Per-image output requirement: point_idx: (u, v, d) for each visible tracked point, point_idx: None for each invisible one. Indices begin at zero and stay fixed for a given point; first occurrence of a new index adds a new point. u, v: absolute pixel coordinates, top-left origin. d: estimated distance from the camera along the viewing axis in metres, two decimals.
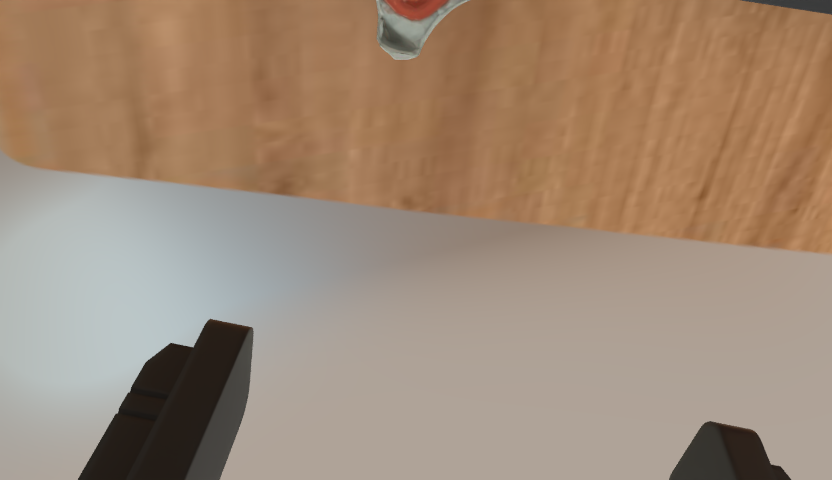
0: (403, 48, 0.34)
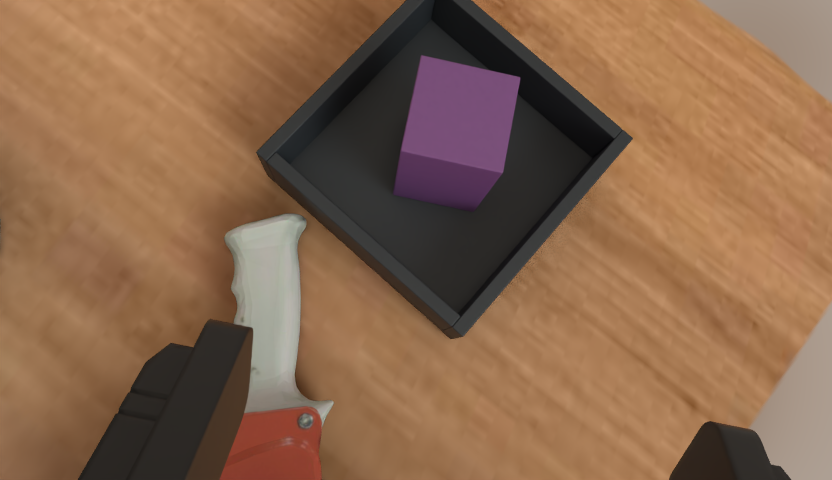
0: None
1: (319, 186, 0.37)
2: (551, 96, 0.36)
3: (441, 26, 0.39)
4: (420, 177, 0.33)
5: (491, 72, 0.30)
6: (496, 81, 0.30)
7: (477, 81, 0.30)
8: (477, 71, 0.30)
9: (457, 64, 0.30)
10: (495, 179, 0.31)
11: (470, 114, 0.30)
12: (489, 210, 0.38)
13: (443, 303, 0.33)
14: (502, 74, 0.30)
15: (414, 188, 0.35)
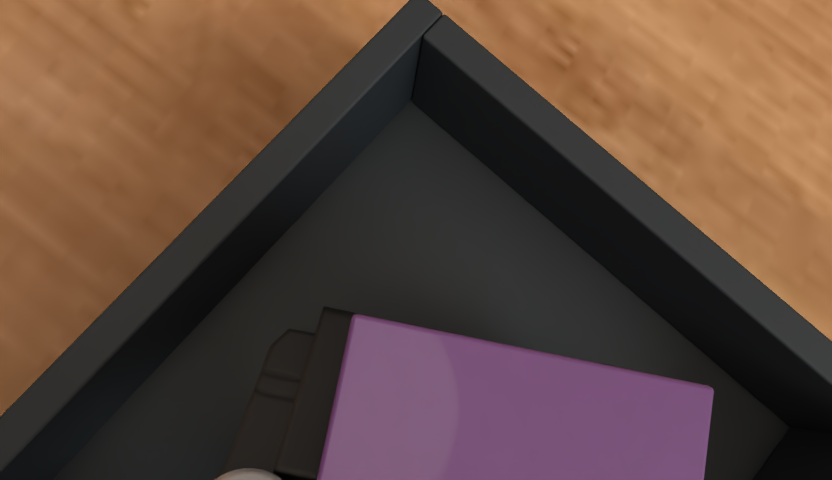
0: None
1: None
2: (714, 310, 0.14)
3: (434, 117, 0.17)
4: None
5: (611, 375, 0.08)
6: (630, 409, 0.08)
7: (561, 413, 0.08)
8: (560, 372, 0.08)
9: (486, 346, 0.08)
10: None
11: None
12: None
13: None
14: (650, 379, 0.08)
15: None
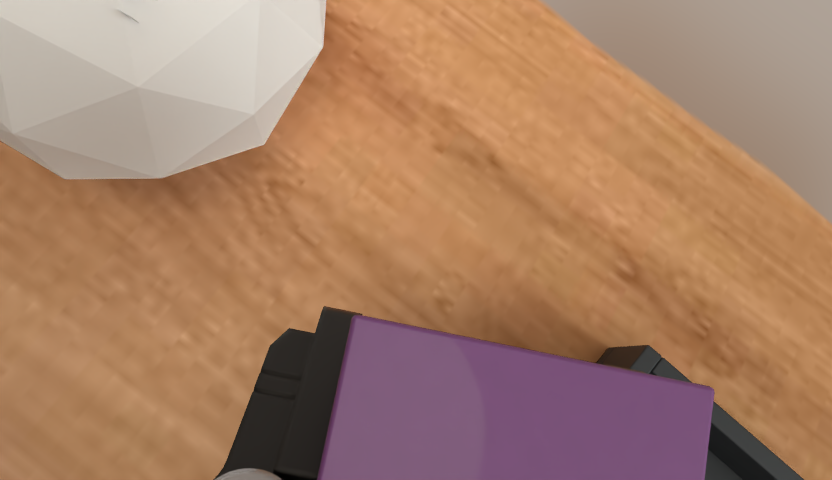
0: None
1: None
2: None
3: None
4: None
5: (611, 375, 0.08)
6: (630, 409, 0.08)
7: (562, 414, 0.08)
8: (560, 372, 0.08)
9: (487, 347, 0.08)
10: None
11: None
12: None
13: None
14: (650, 379, 0.08)
15: None
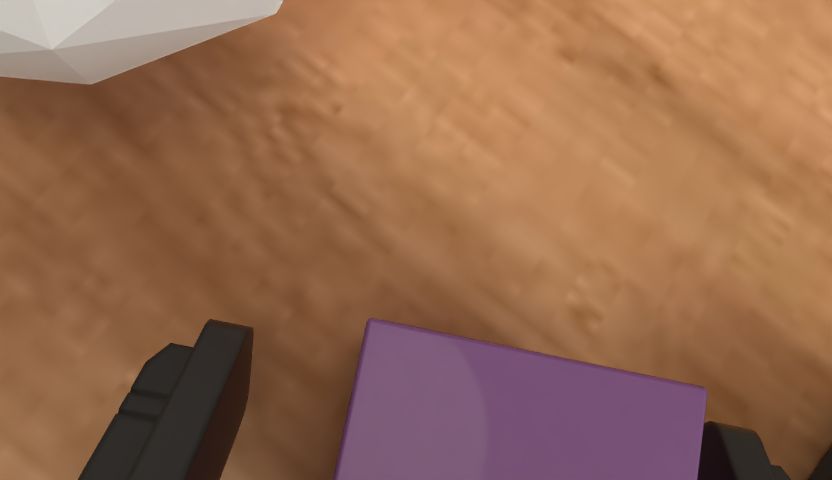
0: None
1: None
2: None
3: None
4: None
5: (610, 376, 0.09)
6: (628, 408, 0.09)
7: (564, 412, 0.09)
8: (562, 373, 0.09)
9: (493, 349, 0.09)
10: None
11: None
12: None
13: None
14: (647, 380, 0.09)
15: None
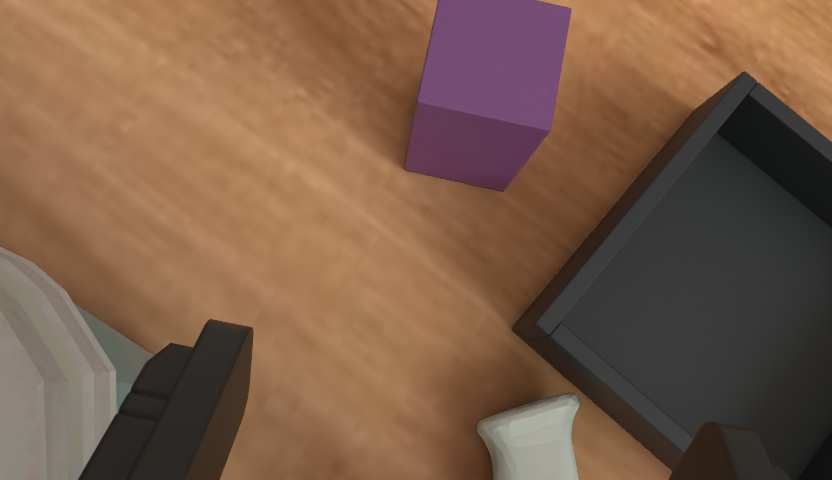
0: None
1: None
2: None
3: (722, 133, 0.31)
4: (440, 142, 0.26)
5: (534, 2, 0.23)
6: (540, 13, 0.23)
7: (516, 13, 0.23)
8: (516, 0, 0.23)
9: None
10: (539, 141, 0.24)
11: (507, 55, 0.23)
12: (799, 374, 0.29)
13: None
14: (548, 4, 0.24)
15: (431, 159, 0.28)
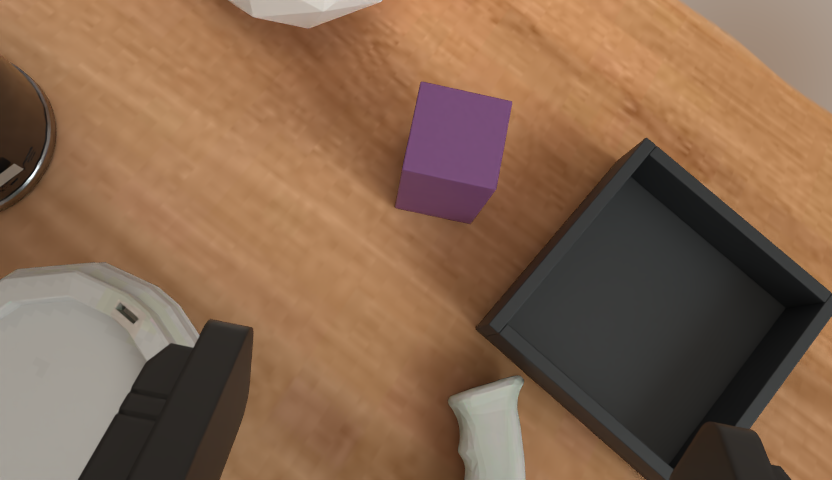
0: None
1: (529, 341, 0.38)
2: (757, 257, 0.38)
3: (636, 179, 0.40)
4: (420, 192, 0.36)
5: (485, 97, 0.33)
6: (490, 105, 0.33)
7: (473, 106, 0.33)
8: (472, 96, 0.33)
9: (454, 89, 0.33)
10: (489, 195, 0.33)
11: (466, 135, 0.33)
12: (691, 362, 0.39)
13: None
14: (495, 99, 0.33)
15: (415, 202, 0.38)
